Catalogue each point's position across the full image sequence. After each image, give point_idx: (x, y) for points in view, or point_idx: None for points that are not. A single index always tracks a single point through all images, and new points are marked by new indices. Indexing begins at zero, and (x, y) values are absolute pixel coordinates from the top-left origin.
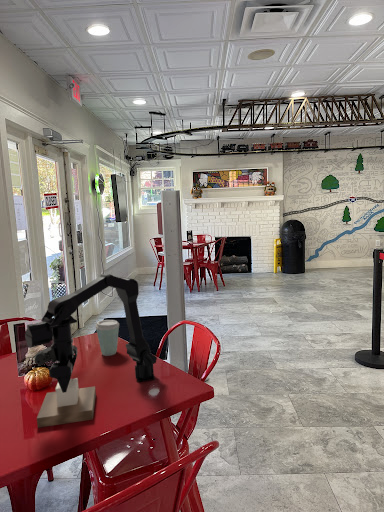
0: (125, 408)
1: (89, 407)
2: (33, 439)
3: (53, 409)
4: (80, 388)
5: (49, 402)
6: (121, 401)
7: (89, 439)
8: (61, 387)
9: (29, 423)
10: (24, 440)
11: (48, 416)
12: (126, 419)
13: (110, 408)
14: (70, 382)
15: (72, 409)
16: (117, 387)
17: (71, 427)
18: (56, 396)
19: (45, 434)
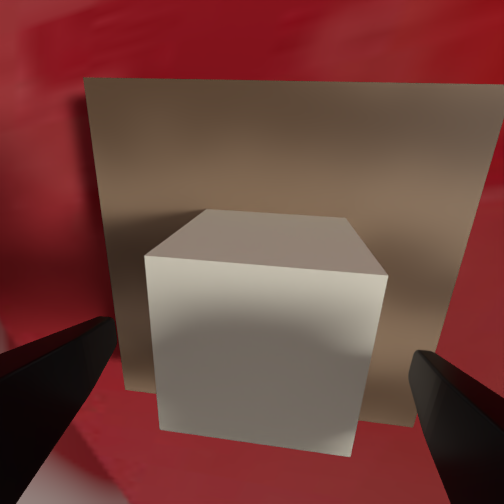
0: (202, 466)
1: (153, 380)
2: (17, 89)
3: (179, 186)
4: (432, 348)
5: (300, 140)
6: (266, 464)
7: (10, 335)
8: (33, 350)
9: (183, 16)
10: (10, 33)
11: (96, 162)
12: (122, 455)
13: None
14: (265, 395)
15: None
16: (419, 474)
17: (99, 270)
18: (179, 231)
19: (55, 149)
